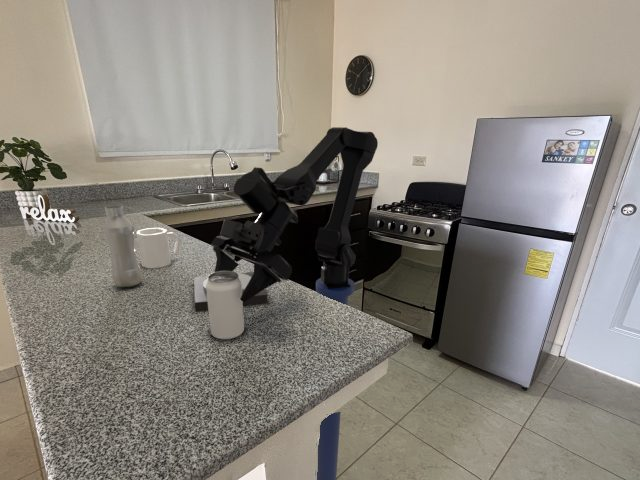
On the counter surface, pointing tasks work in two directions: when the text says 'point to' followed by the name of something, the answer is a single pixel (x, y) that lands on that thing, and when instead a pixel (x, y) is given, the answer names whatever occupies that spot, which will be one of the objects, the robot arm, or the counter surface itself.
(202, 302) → the scale
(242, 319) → the can
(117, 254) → the plastic bottle
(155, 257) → the mug
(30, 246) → the counter surface
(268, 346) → the counter surface
